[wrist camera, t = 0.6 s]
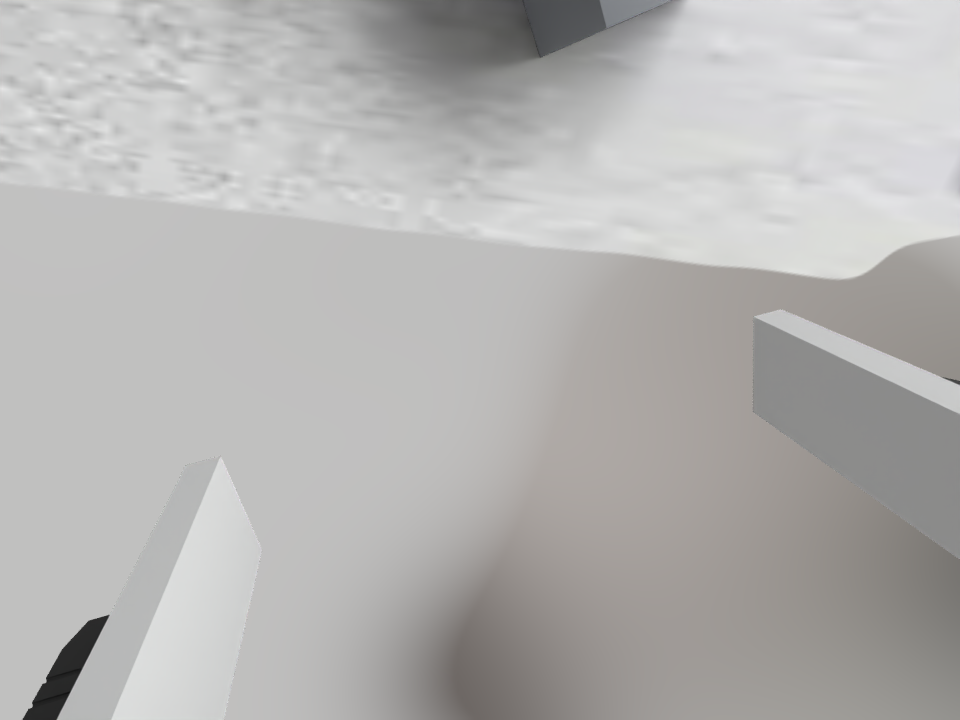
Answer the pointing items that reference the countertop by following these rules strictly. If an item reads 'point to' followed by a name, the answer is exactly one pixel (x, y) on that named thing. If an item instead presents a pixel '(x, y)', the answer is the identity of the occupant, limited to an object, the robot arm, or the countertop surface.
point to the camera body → (578, 19)
